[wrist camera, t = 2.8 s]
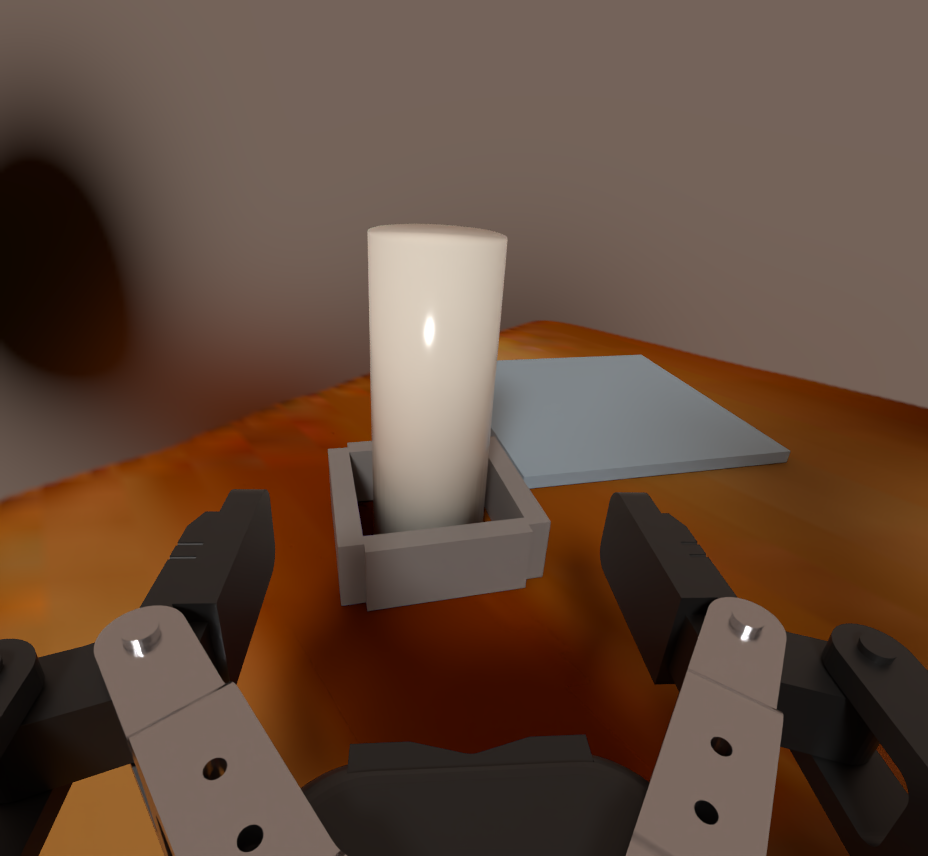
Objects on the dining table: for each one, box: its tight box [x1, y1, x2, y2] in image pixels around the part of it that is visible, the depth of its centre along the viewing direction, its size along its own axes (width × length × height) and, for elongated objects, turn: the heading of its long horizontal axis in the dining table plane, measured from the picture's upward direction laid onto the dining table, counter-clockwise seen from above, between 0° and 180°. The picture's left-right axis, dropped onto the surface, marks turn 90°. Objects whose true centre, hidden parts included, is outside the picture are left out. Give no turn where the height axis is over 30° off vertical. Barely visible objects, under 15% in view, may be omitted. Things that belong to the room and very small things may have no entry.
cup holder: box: [328, 436, 551, 611], centre depth 27 cm, size 9×9×3 cm
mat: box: [490, 355, 791, 488], centre depth 41 cm, size 18×18×1 cm
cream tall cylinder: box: [368, 224, 507, 535], centre depth 24 cm, size 5×5×14 cm
